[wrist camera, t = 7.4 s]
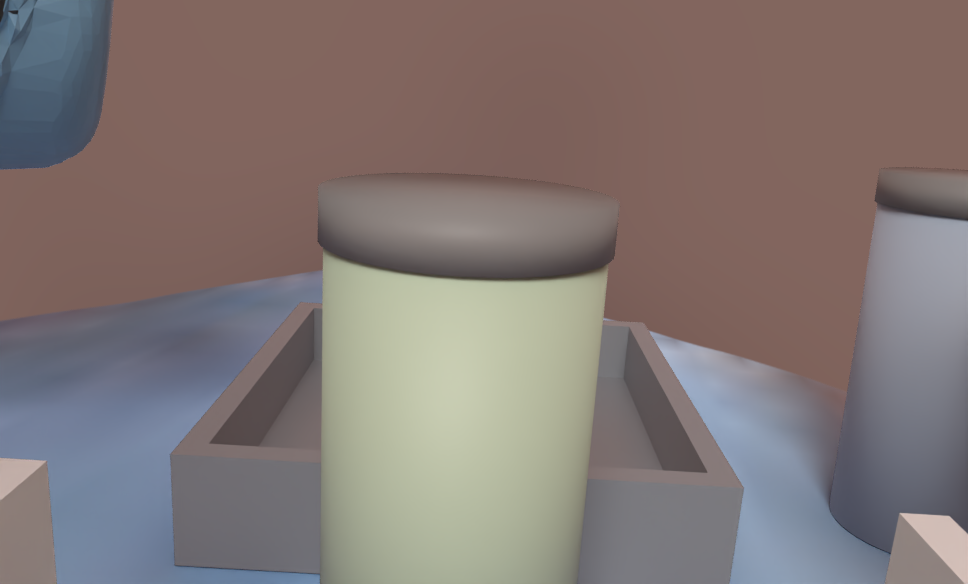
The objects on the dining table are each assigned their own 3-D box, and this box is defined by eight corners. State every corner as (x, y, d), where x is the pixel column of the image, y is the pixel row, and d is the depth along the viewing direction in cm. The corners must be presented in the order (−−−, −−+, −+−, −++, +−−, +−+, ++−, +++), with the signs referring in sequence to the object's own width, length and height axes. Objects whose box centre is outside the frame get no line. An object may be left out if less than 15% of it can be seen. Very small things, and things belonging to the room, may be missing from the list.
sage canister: (258, 734, 18) (251, 186, 15) (412, 601, 23) (430, 167, 20) (486, 870, 15) (533, 232, 12) (606, 685, 20) (661, 196, 17)
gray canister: (814, 534, 28) (871, 175, 25) (837, 469, 33) (886, 164, 30) (1017, 590, 25) (1107, 195, 22) (1008, 511, 30) (1081, 178, 27)
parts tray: (727, 597, 24) (744, 488, 23) (174, 565, 24) (170, 454, 23) (635, 392, 39) (643, 322, 39) (300, 373, 39) (300, 302, 39)
